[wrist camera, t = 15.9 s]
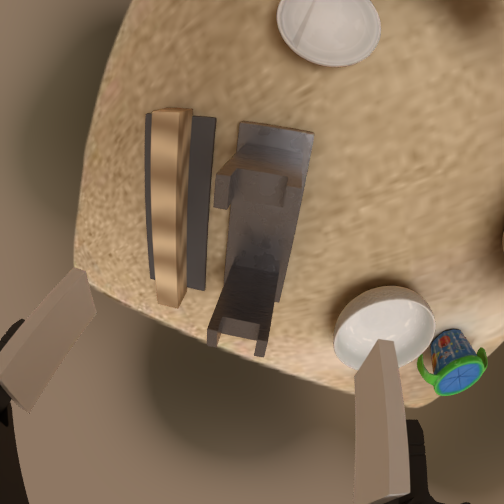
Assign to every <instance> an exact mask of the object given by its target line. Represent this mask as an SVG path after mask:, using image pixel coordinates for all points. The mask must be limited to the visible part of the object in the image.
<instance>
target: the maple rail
mask: <svg viewBox="0 0 504 504" xmlns="http://www.w3.org/2000/svg"><path fill="white" fill-rule="evenodd" d="M192 112H193V109H183V108H164V109H160V110H156V111H152V127H151V214H152V237H153V254H154V268H155V280H156V291H157V301H158V304H161V305H165V306H169V307H173V308H177V309H178V308H179V306H180V304H181V302H182V300H183V298H184V296H185V294H186V292H187V202H188V176H189V156H190V139H191V125H192Z"/></svg>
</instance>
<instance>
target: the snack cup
mask: <svg viewBox="0 0 504 504" xmlns="http://www.w3.org/2000/svg"><path fill="white" fill-rule="evenodd" d="M431 357H432V365H433V373H434V374H430V373H429V372H428V371H427V369H426V368H425V366H424V364H423V354H421V355H420V356H419V358H418V361H417V367H418V370H419V372H420V374H421V376H422V377H423V378H424V380H425V381H426V382H428V383H429V384H431V385H433V386H434V390H435V392H436V393H437V394H438V395H441V396H449V395H454V394H457V393H459V392H462V391H464V390H466V389H467V388H469V387H470V386H472V385H473V384H474V383H475V382H476V381H477V380H478V379H479V378H480V377H481V375H482V374H483V372H484V371H485V369H486V368H487V356H486V352H485V350H484V349H483V348H480V349H479V350H478V352H477V354H476V353H475V351H474V350H473V349H472V347H471V345H470V343H469V342H468V340H467V339H466V337H465V336H464V335H463V333H462V332H461V331H460V330H455V329H454V330H449V331H444V332H443V333H442V334H440V335H439V336H438V337H437V338H436V339H435V340H434V341H433V342H432V344H431Z"/></svg>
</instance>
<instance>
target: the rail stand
mask: <svg viewBox="0 0 504 504" xmlns="http://www.w3.org/2000/svg"><path fill="white" fill-rule="evenodd" d="M313 139H314V132H309V131H304V130H299V129H293V128H288V127H282V126H276V125H269V124H263V123H256V122H248V121H242V122H240V127H239V135H238V144H237V153H236V154H235V155H234V156H233V157H232V158H231V159H230V160H229V161H228V162H227V163H226V164H225V165H224V166H223V167H222V168H221V169H220V170H219V171H218V173H217V174H216V180H215V193H214V206H213V207H215V208H221V209H228V207H229V205H230V204H231V211H230V221H229V231H228V242H227V253H226V264H225V276H224V287H223V289H222V292H221V294H220V297H219V300H218V302H217V305H216V307H215V310H214V313H213V315H212V318H211V320H210V323H209V326H208V328H207V346H212V347H217V344H218V341H219V338H220V335H221V333H223V334H227V335H232V336H237V337H242V338H246V339H251V340H256V341H257V343H256V348H255V353H254V356H259V357H264V355H265V351H266V347H267V343H268V337H269V331H270V326H271V320H272V313H273V307H274V302H279V301H280V297H281V292H282V288H283V284H284V279H285V275H286V271H287V266H288V262H289V257H290V253H291V248H292V244H293V239H294V234H295V230H296V225H297V220H298V216H299V211H300V206H301V201H302V196H303V191H304V186H305V181H306V176H307V171H308V166H309V161H310V155H311V150H312V145H313Z"/></svg>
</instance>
